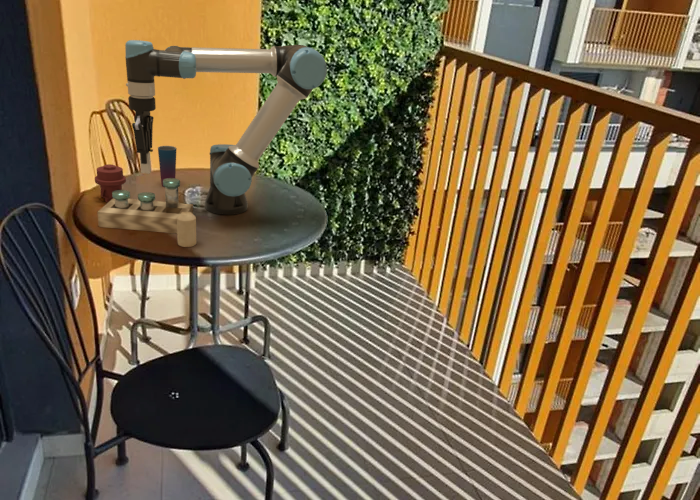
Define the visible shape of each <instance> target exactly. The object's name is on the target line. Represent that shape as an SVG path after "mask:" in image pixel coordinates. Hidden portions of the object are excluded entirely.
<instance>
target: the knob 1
mask: <svg viewBox="0 0 700 500" xmlns="http://www.w3.org/2000/svg"><path fill="white" fill-rule="evenodd" d="M112 197H113V198H114V199H115V208H118V209H128V208H129V204H128V199H131V192H130V191H129V190H125V189H122V190H116V191H113V192H112Z"/></svg>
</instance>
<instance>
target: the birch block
mask: <svg viewBox="0 0 700 500" xmlns="http://www.w3.org/2000/svg"><path fill="white" fill-rule="evenodd" d="M153 202H154V211H153V212H152V211H141V206H140V201H139V200H138V198H137V199H136V198H128V204H129V208H128V209H118V208H115V199H114V198H113V199H112V200H111V201H109V202H106V204H105V205H104V206H102V207H101V208H100V209H98V211H97V224H98V227H99V228H107V229H108V228H109V229H121V230H132V231H133V230H135V231H142V232H143V231H144V232H145V231H146V232H158V233H167V234H177V217H178V216H179V215H180V214H181V213H182V212H191V213H192V214H193V215H194V204H193V203H192V204H191V203H181V202H179V206H178V207H176V208H168V207H166V201H161V200H160V201H159V200H154V201H153Z"/></svg>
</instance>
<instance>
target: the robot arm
mask: <svg viewBox="0 0 700 500" xmlns="http://www.w3.org/2000/svg"><path fill="white" fill-rule="evenodd" d="M124 46H125V48H124V49H125V68H126V70H125V71H126V78H127V79H126V80H127V81H126V83H125V86H126V87H127V94H128V95H129V96H128V108H129V109H130V110H131V111H134V112H135V115H134V117H133V119H134V121H133V122H132V123H131V124H132V125H131V126H132V129H133V133H134V134H133V135H134V140H135V148H136V154H139V163H140V174H147V175H148V174H149V175H150V174H151V173H152V165H151V164H152V163H151V153H152V152H154V149H152V148H153V132H154V131H153V128H154V127H153V125H154V116H153V115H151V112H153V111H155V110H156V108H157V107H156V106H157V105H156V97H155V96H156V83H155V77H158V78H159V77H163V78H164V77H165V78H179V79H184V80H185V79H195V78H196V76H197V73H224V74H225V73H227V74H235V73H236V74H271V75H272V76H273V78H274V77H276V80H277V83H276V85H275V87H274V88H273V89H272V91H271V92H270V94H269V96H267V98H266V100H265V101H264V102H263V104H262V105H261V107H260V109H258V112H257V113H256V114H255V116H254V118H253V119H252V121H251V122H250V123H249V125H248V126H247V128H246V130H244V132H243V134H242V135H241V136H240V138H239V140H238V141H237V143H236V144H225V143H219V144H213V145H211V146H210V149H209V150H210V151H209V172H210V173H209V189H208V192H207V194H206V198H205V202H204V207H205V210H207V211H208V212H210V213H212V214H213V213H214V214H217V215H227V216H228V215H238V214H243V213H245V212H247V211H248V206H249V205H248V204H249V203H248V202H249V201H248V199H247V197H246V192H248V190H249V189H250V187H251V186H252V181H253V177H254V175H255V174H256V172H257V171H258V169H259V168H260V164H259V160H260V158H261V157H262V155H263V154H264V152H265V151H266V149H267V147H269V145H270V143H271V142H272V141H273V140H274V138H275V137H276V136H277V133H278V132H279V131H280V129H281V127H282V126H283V125H284V124H285V122H286V120H287V119H288V118H289V116H290V115H291V113H292V112H293V110H294V109H295V107H296V106H297V105H298V103H299V102H300V101H301V100H306V99H308V98H309V96H310V94H311V93H312V92H313V89H316V88H318V87H319V86H321V85H322V83H324V82H325V79H326V77H327V74H328V73H327V72H328V67H327V61H326V60H325V57H324V56H323V55H322V54H321V53H320V52H319V51H318V50H317V49H315V48H313V47H310V46H307V45H304V44H293V45H279V46H277V45H273V46H271V48H269V49H267V48H234V47H233V48H231V47H229V48H227V47H195V46H194V47H188V46H187V47H185V46H178V45H171V46H169V47H166V48H165V49H156V48H154V45H153V43H152V42H151V41H147V40H140V39H139V40H138V39H130V40H128V41H126V42H125V45H124Z"/></svg>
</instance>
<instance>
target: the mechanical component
mask: <svg viewBox="0 0 700 500" xmlns="http://www.w3.org/2000/svg"><path fill="white" fill-rule="evenodd" d="M126 182H127V178H126V176H125V175H124V169H123V168H122V167H121V166H118V165H115V164H104V165H103V166H102V165H101V166H99V167H97V168H96V176H94V183H95V184H97V185H99V188H100V196H101V197H102V198H103V199H104V201H105V202H106V203H108V202H109V201H111V200H112V199H113V197H112V192H113V191H116V190H123V188H122V187H123V185H124V184H125V183H126Z"/></svg>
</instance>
